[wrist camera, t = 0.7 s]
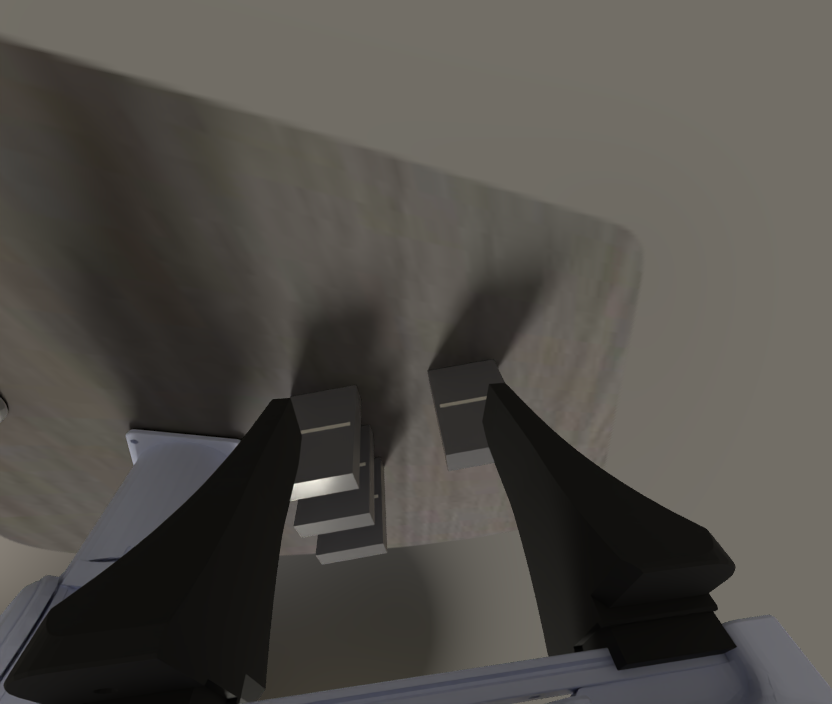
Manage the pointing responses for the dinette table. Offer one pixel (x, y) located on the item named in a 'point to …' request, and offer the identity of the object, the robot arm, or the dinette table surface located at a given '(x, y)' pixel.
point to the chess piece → (3, 410)
